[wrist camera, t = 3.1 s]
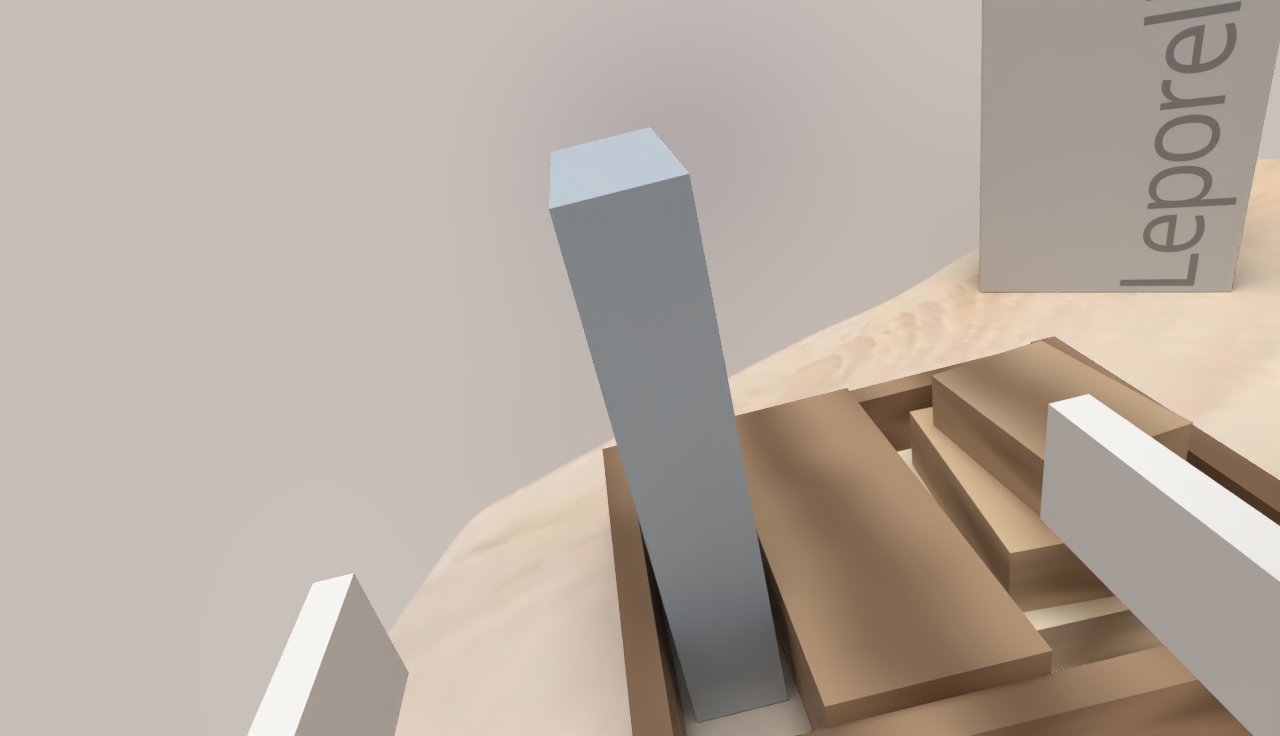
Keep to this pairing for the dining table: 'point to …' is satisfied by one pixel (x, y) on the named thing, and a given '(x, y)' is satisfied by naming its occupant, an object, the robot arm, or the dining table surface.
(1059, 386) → the offcut top
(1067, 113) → the brochure
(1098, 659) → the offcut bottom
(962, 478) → the plate
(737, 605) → the grey rectangular block
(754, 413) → the tray
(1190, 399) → the dining table surface
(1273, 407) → the dining table surface
